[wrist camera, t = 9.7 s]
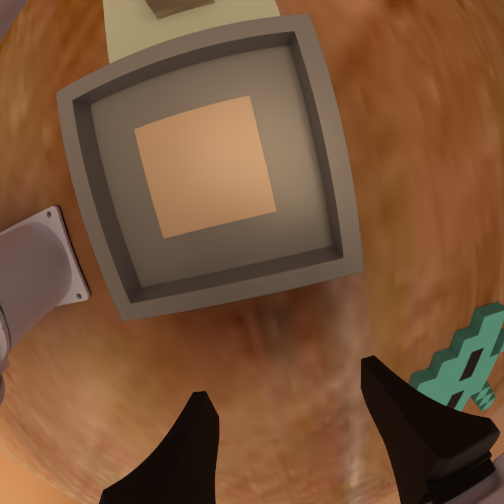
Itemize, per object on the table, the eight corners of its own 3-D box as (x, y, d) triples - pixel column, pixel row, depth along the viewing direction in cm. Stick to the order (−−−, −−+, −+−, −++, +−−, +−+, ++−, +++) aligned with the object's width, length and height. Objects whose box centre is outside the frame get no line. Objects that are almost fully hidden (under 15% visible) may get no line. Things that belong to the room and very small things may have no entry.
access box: (137, 299, 20) (122, 321, 17) (80, 98, 15) (56, 92, 12) (347, 254, 20) (363, 271, 17) (299, 33, 14) (309, 13, 11)
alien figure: (530, 288, 22) (426, 317, 22) (541, 295, 20) (438, 330, 20) (484, 398, 29) (382, 438, 29) (490, 406, 27) (387, 450, 27)
